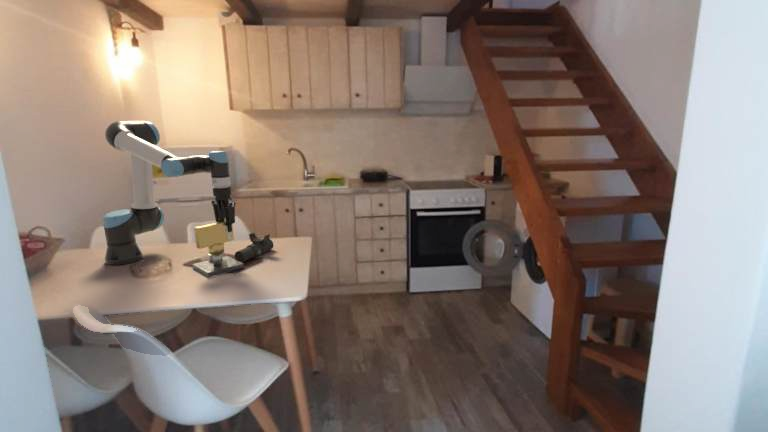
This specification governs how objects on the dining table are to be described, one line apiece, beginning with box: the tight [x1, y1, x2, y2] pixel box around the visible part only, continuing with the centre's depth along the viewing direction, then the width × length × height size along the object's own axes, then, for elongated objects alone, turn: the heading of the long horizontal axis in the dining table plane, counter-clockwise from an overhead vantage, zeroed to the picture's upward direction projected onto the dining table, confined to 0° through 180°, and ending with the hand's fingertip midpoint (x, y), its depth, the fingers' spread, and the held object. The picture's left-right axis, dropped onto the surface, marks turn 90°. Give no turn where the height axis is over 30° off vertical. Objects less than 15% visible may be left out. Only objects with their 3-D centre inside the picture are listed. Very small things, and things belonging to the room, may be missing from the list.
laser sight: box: [234, 232, 274, 263], centre depth 201 cm, size 10×22×10 cm, turn 158°
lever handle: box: [194, 221, 235, 255], centre depth 183 cm, size 6×16×13 cm, turn 142°
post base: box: [192, 253, 245, 278], centre depth 185 cm, size 16×16×7 cm
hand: (227, 238), depth 188 cm, fingers closed on lever handle, 2 cm apart
